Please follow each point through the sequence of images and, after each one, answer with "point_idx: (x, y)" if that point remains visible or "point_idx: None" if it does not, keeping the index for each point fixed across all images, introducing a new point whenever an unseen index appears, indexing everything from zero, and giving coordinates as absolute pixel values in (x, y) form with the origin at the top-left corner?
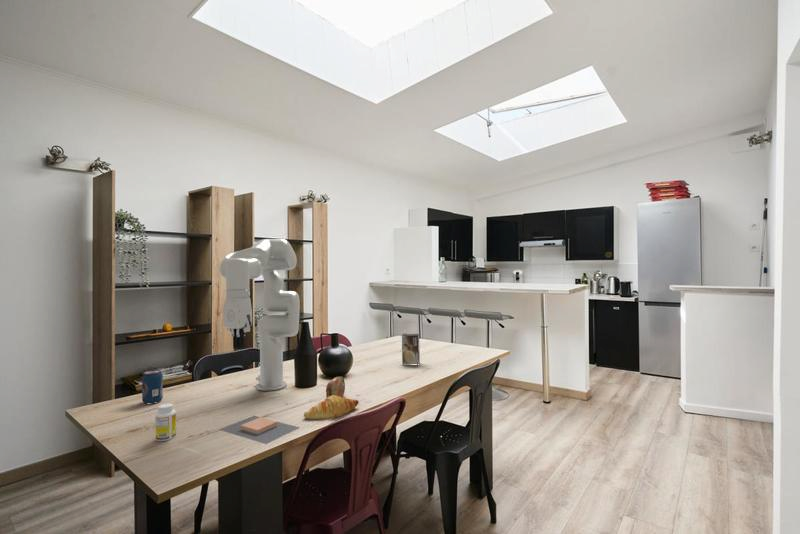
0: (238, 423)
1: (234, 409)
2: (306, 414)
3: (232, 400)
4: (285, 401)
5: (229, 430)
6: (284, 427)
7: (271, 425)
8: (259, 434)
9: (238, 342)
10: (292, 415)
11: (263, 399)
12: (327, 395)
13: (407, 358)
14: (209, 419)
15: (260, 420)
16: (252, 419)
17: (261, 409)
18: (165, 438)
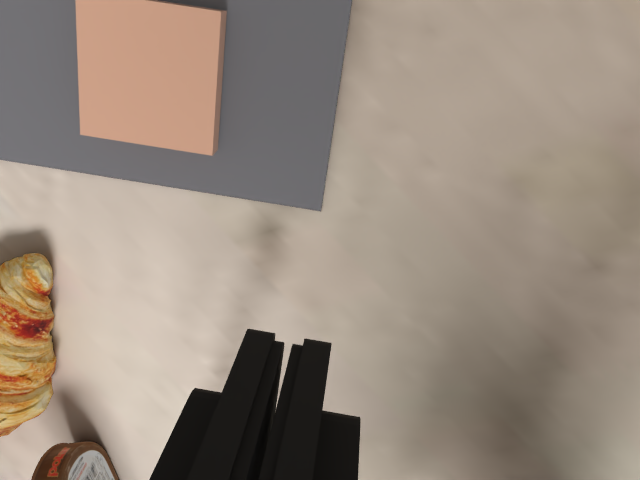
0: (315, 87)
1: (506, 258)
2: (23, 263)
3: (619, 363)
4: None
5: None
6: (48, 129)
7: (82, 92)
8: None
9: (206, 428)
10: (147, 281)
11: (452, 416)
12: (62, 458)
13: None
14: (542, 85)
15: (174, 115)
16: (286, 162)
17: (357, 301)
18: None
